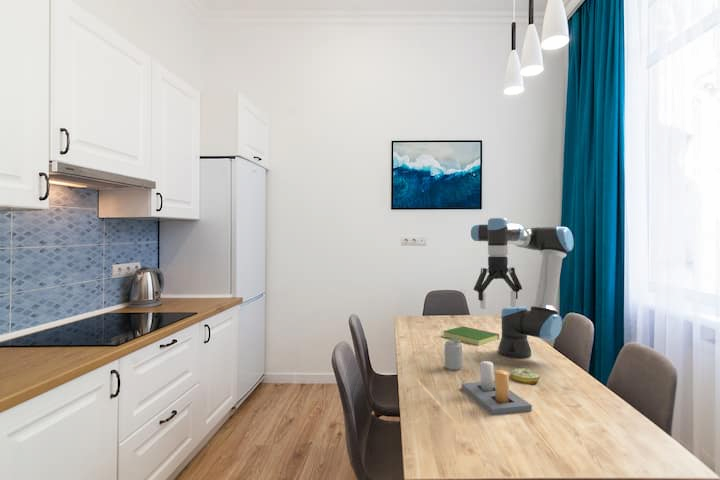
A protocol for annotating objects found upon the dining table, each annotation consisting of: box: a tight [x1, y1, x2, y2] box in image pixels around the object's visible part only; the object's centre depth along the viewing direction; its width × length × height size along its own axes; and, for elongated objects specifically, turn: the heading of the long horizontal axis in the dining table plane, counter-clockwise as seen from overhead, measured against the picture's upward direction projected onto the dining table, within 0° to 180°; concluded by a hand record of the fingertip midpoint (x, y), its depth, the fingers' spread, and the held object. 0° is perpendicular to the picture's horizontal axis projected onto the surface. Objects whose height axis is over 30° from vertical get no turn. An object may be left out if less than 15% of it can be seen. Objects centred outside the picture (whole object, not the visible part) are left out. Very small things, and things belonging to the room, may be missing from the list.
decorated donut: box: [510, 367, 540, 385], centre depth 152 cm, size 10×11×4 cm
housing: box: [461, 380, 533, 416], centre depth 133 cm, size 22×14×2 cm, turn 10°
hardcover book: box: [443, 326, 500, 346], centre depth 217 cm, size 25×19×4 cm
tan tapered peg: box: [494, 369, 510, 404], centre depth 128 cm, size 4×4×11 cm
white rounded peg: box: [480, 360, 494, 392], centre depth 138 cm, size 4×4×11 cm
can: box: [444, 339, 463, 371], centre depth 167 cm, size 8×8×12 cm
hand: (498, 307), depth 154 cm, fingers open, 13 cm apart
